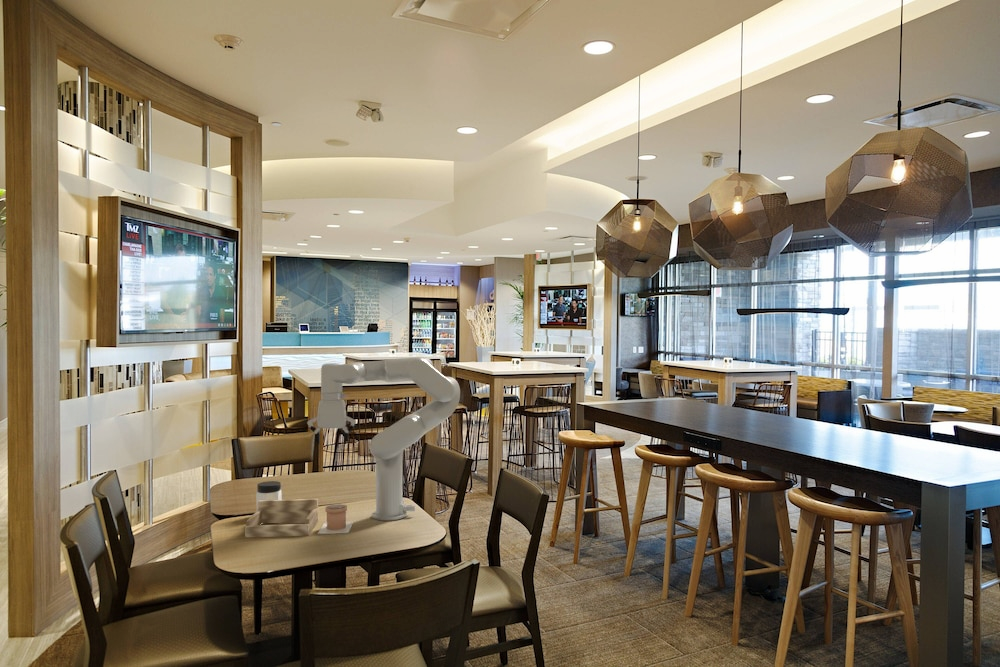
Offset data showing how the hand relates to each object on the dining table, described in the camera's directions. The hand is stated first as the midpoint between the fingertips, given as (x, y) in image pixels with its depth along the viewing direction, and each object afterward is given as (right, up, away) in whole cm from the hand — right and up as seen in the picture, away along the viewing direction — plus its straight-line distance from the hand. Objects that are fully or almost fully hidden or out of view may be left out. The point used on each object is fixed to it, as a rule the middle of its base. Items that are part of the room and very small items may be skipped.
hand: (331, 443), depth 240 cm
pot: (+6, -26, -16) cm, 31 cm away
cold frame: (-12, -26, -16) cm, 33 cm away
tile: (+6, -26, -16) cm, 31 cm away
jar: (-23, -27, 0) cm, 35 cm away
